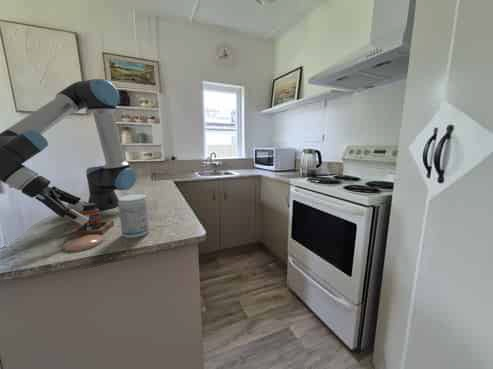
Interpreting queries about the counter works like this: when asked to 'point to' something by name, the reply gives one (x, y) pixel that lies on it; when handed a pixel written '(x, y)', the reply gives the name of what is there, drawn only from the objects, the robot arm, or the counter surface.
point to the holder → (79, 230)
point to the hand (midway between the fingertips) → (89, 216)
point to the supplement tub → (133, 215)
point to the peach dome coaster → (83, 243)
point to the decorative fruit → (75, 207)
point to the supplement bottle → (91, 217)
